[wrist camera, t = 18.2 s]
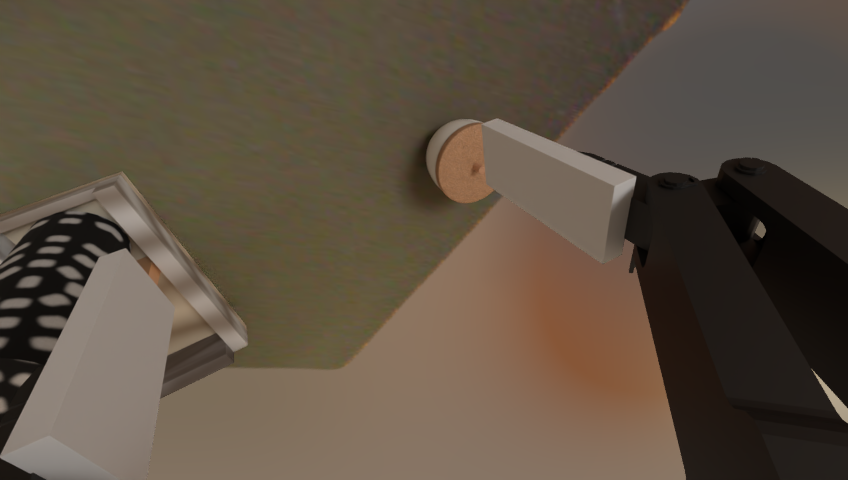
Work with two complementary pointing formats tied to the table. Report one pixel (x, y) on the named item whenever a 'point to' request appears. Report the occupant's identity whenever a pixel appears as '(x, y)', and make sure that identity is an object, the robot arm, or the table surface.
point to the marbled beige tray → (179, 279)
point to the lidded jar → (458, 161)
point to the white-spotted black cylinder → (46, 289)
